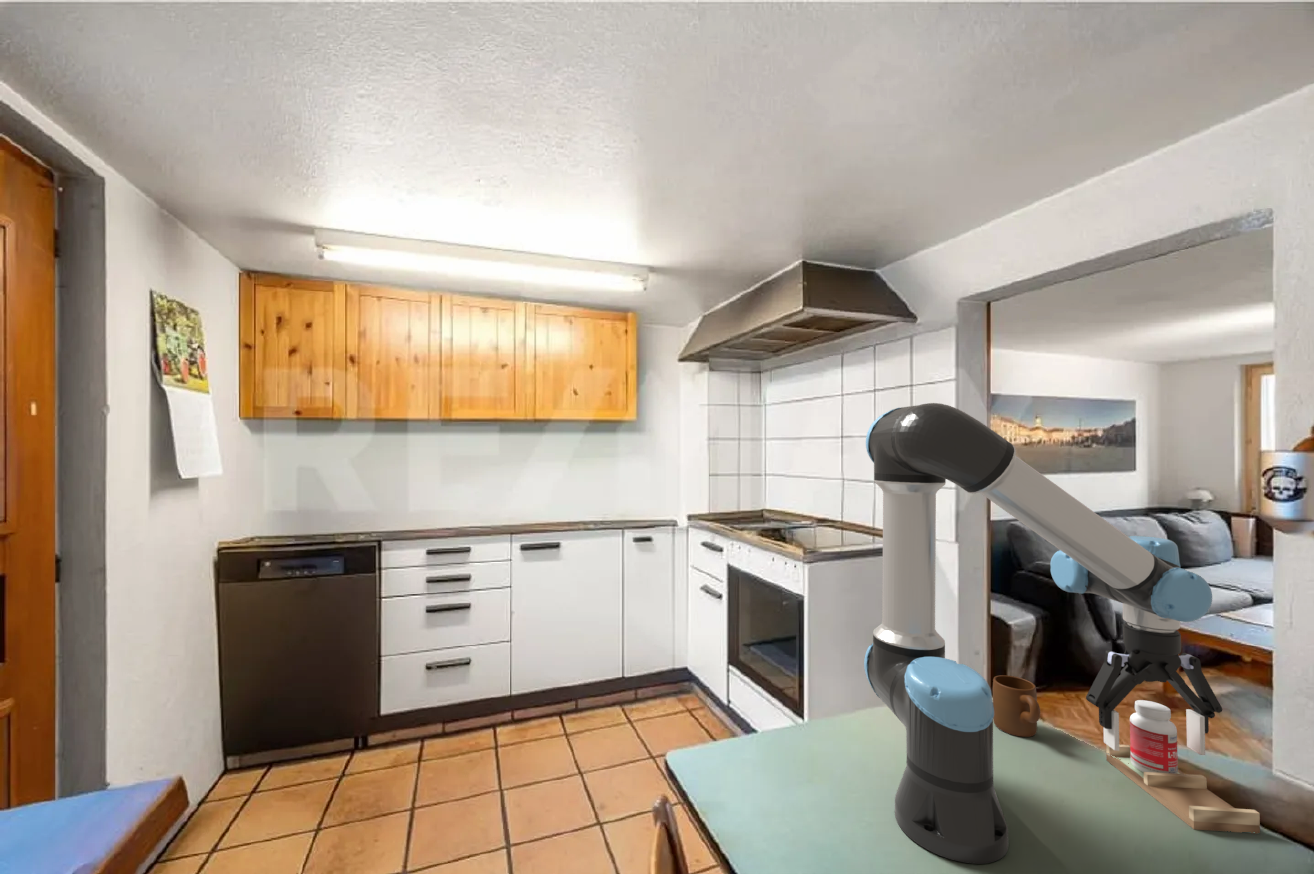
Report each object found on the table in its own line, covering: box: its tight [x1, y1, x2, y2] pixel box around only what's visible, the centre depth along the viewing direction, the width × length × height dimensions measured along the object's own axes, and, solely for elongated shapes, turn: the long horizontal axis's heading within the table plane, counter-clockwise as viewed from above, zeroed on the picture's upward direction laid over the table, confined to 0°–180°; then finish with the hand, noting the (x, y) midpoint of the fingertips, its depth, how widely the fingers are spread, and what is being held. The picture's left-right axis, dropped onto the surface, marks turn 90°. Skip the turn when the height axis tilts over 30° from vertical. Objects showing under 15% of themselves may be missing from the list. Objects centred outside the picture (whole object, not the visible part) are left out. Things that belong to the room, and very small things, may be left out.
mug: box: [992, 674, 1041, 738], centre depth 110 cm, size 12×8×9 cm, turn 174°
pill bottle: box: [1129, 699, 1179, 774], centre depth 96 cm, size 6×6×11 cm
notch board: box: [1105, 744, 1261, 834], centre depth 91 cm, size 9×18×3 cm, turn 174°
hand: (1153, 748), depth 96 cm, fingers open, 13 cm apart
